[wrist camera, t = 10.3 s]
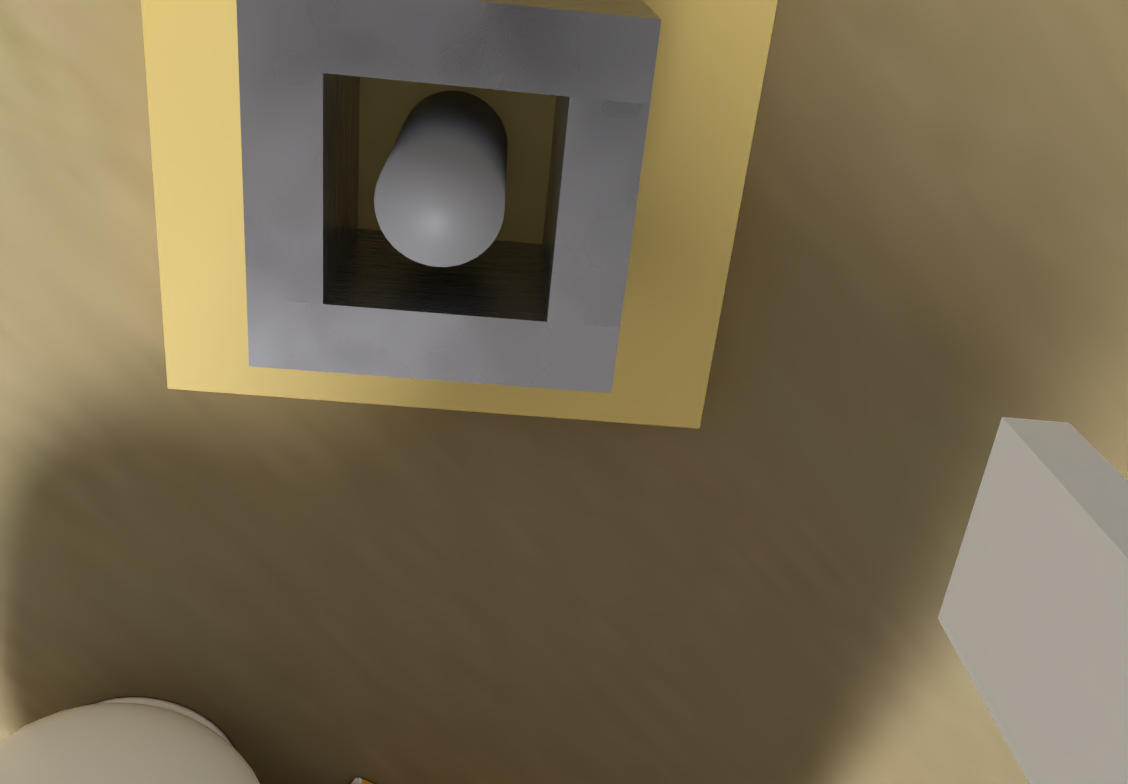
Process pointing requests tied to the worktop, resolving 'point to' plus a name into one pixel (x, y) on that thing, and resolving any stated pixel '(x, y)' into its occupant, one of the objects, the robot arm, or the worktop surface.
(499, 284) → the grey square hollow block
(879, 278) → the worktop surface
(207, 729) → the lidded jar
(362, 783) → the packaging box
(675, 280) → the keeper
